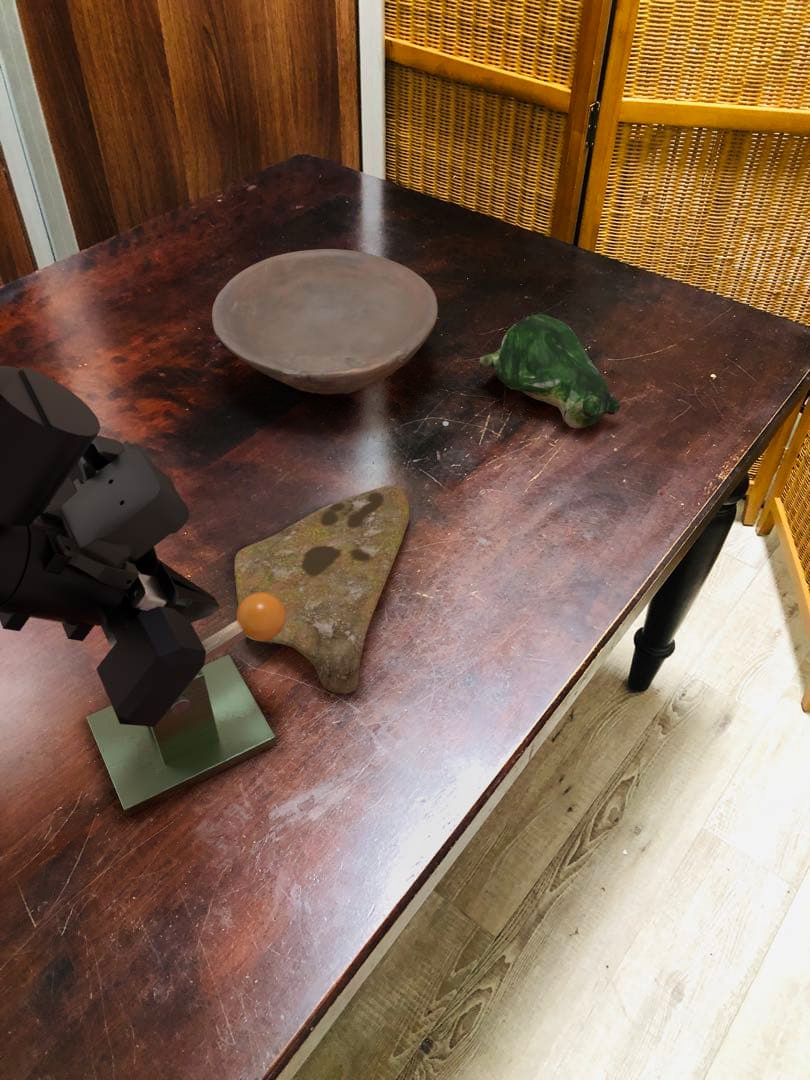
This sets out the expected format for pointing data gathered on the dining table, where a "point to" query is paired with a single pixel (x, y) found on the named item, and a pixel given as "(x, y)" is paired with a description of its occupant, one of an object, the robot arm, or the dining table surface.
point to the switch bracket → (183, 738)
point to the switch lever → (249, 623)
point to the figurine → (552, 370)
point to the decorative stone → (329, 578)
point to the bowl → (325, 318)
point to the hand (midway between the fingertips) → (213, 606)
